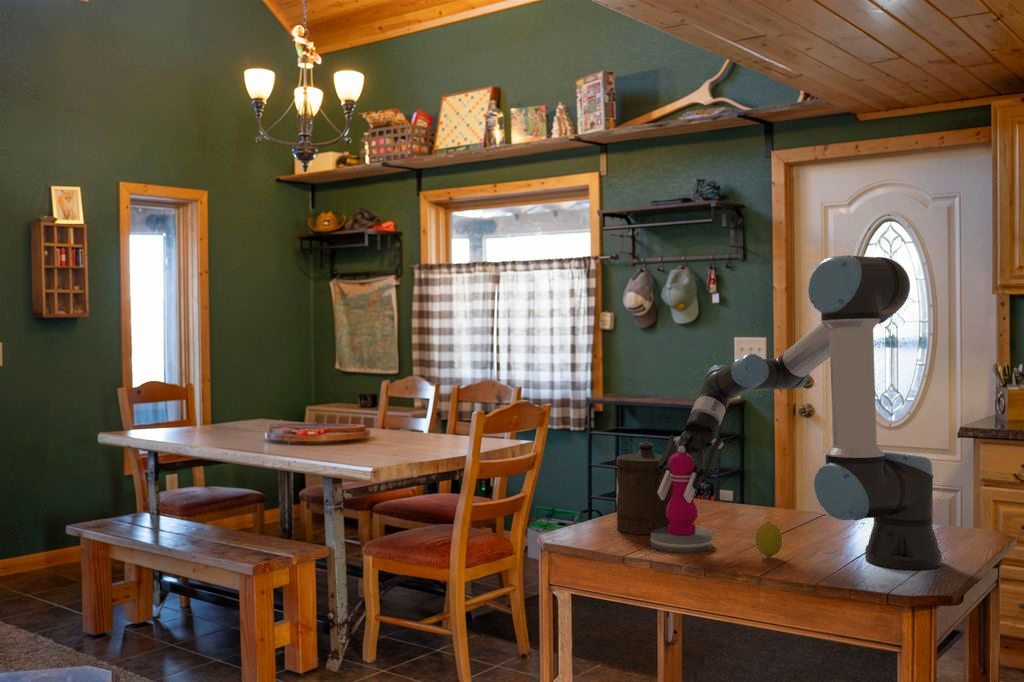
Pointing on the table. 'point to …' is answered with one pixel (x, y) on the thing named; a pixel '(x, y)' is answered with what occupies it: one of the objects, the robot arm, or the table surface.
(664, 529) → the grey flat disc
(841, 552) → the table surface
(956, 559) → the table surface
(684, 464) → the pepper mill
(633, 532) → the wooden container
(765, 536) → the lemon
